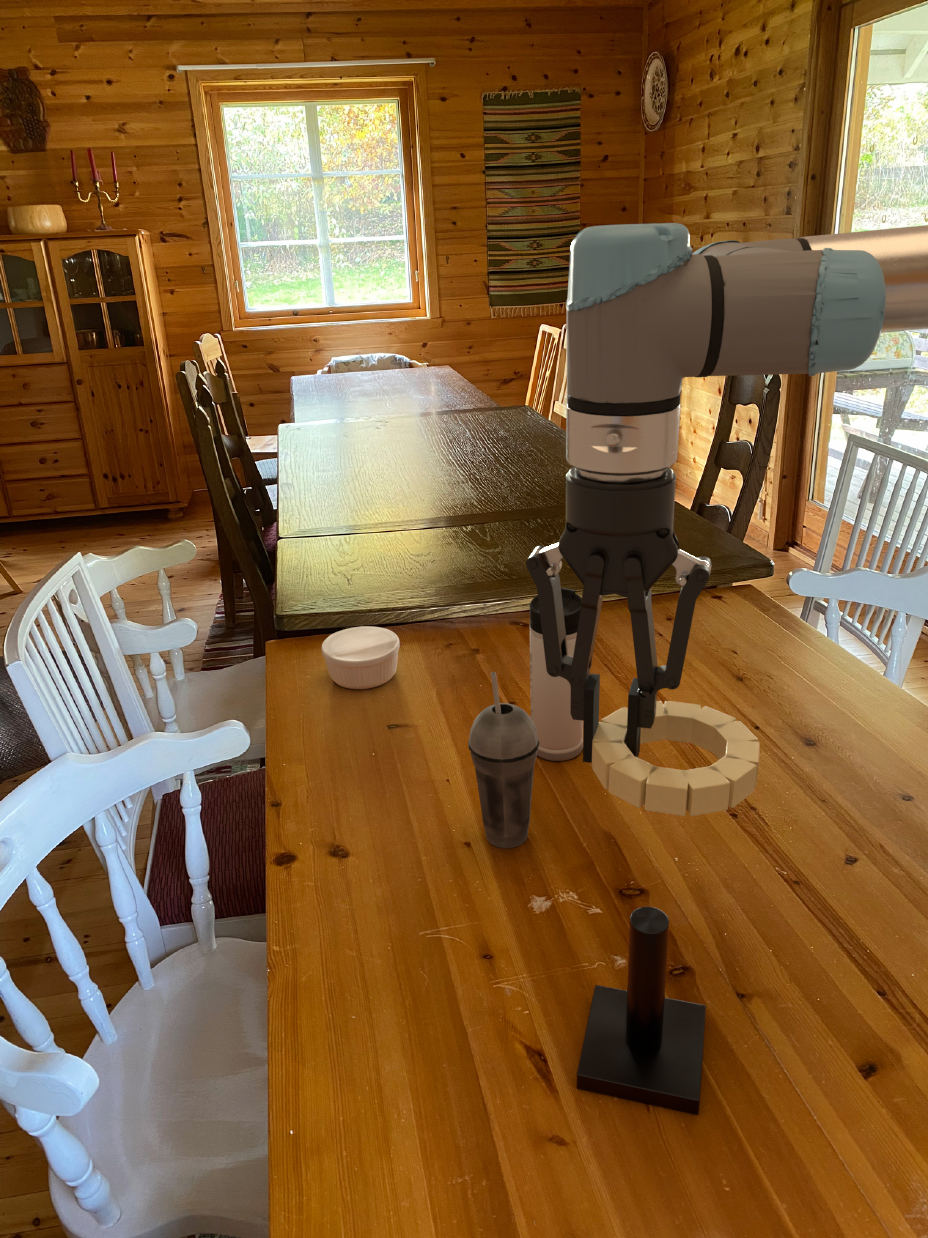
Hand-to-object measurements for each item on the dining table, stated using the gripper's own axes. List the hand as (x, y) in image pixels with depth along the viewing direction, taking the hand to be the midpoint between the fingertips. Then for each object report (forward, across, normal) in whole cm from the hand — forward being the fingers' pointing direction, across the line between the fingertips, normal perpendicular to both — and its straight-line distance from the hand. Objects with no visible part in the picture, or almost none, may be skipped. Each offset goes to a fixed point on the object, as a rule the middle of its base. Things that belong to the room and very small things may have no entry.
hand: (611, 755), depth 73 cm
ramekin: (+21, -42, +45) cm, 65 cm away
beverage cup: (+21, -13, +14) cm, 29 cm away
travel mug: (+21, -11, +32) cm, 40 cm away
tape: (0, +5, 0) cm, 5 cm away
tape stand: (+21, +4, -9) cm, 23 cm away
